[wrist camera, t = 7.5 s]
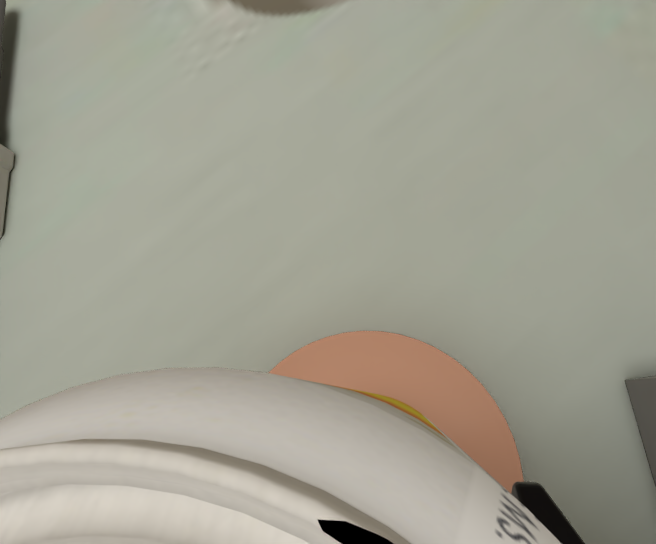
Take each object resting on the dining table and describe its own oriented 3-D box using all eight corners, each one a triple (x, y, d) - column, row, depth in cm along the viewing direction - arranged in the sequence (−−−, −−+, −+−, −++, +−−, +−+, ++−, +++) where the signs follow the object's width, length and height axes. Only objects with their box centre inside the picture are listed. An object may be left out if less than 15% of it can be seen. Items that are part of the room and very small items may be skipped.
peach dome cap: (554, 626, 16) (560, 635, 15) (245, 656, 17) (239, 666, 16) (483, 311, 18) (485, 309, 18) (218, 355, 19) (212, 354, 19)
